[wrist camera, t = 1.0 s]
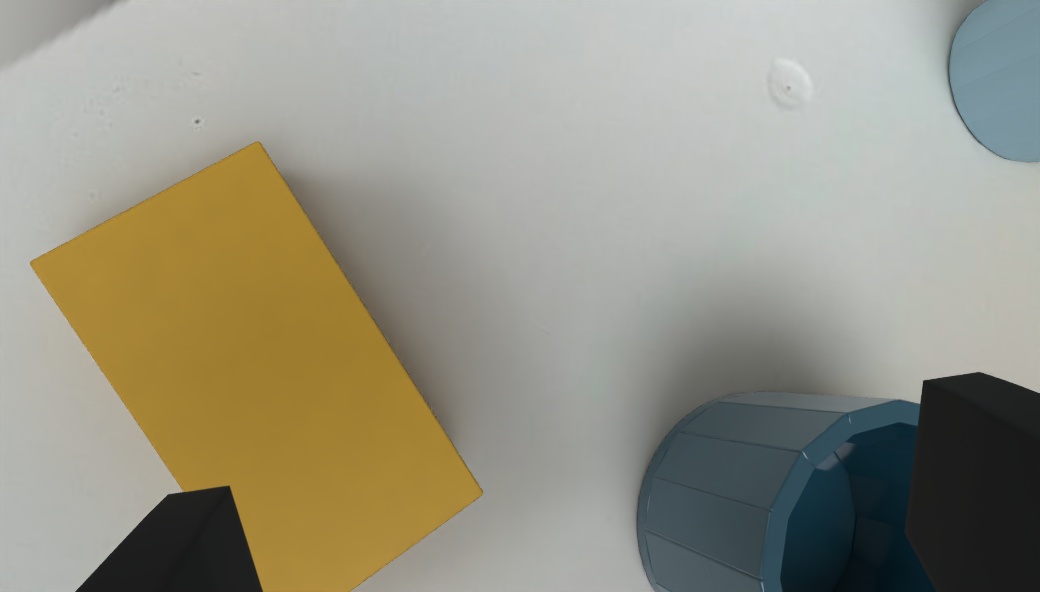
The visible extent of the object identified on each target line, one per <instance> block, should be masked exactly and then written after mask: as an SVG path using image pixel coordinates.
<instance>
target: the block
mask: <svg viewBox="0 0 1040 592" xmlns="http://www.w3.org/2000/svg"><path fill="white" fill-rule="evenodd" d="M30 265H31V267H32V268H33V270H34V271H35V273H36V274H37V276H38V277H39V279H40V280H41V282H42V283H43V285H44V286H45V288H46V289H47V291H48V292H49V294H50V295H51V296H52V298H53V299H54V301H55V302H56V304H57V305H58V307H59V308H60V310H61V311H62V313H63V314H64V316H65V317H66V319H67V320H68V322H69V323H70V324H71V326H72V327H73V329H74V330H75V332H76V333H77V335H78V336H79V338H80V339H81V341H82V342H83V344H84V345H85V347H86V348H87V350H88V351H89V353H90V354H91V355H92V357H93V358H94V360H95V361H96V363H97V364H98V366H99V367H100V369H101V370H102V372H103V373H104V375H105V376H106V378H107V379H108V381H109V382H110V383H111V385H112V386H113V388H114V389H115V391H116V392H117V394H118V395H119V397H120V398H121V400H122V401H123V403H124V404H125V406H126V407H127V409H128V410H129V412H130V413H131V414H132V416H133V417H134V419H135V420H136V422H137V423H138V425H139V426H140V428H141V429H142V431H143V432H144V434H145V435H146V437H147V438H148V440H149V441H150V442H151V444H152V445H153V447H154V448H155V450H156V451H157V453H158V454H159V456H160V457H161V459H162V460H163V462H164V463H165V465H166V466H167V468H168V469H169V471H170V472H171V473H172V475H173V476H174V478H175V479H176V481H177V482H178V484H179V485H180V487H181V488H182V490H183V491H184V492H188V491H195V490H201V489H208V488H215V487H221V486H228V485H230V488H231V491H232V494H233V498H234V501H235V504H236V507H237V510H238V514H239V517H240V520H241V523H242V526H243V529H244V533H245V536H246V539H247V542H248V545H249V548H250V552H251V555H252V558H253V561H254V564H255V568H256V571H257V574H258V577H259V580H260V583H261V587H262V590H263V592H350V591H351V590H353V589H354V588H356V587H357V586H358V585H360V584H361V583H362V582H364V581H365V580H367V579H368V578H369V577H371V576H372V575H373V574H375V573H376V572H378V571H379V570H380V569H382V568H383V567H384V566H386V565H387V564H389V563H390V562H391V561H393V560H394V559H395V558H397V557H398V556H400V555H401V554H402V553H404V552H405V551H406V550H408V549H409V548H410V547H412V546H413V545H415V544H416V543H417V542H419V541H420V540H421V539H423V538H424V537H426V536H427V535H428V534H430V533H431V532H432V531H434V530H435V529H437V528H438V527H439V526H441V525H442V524H443V523H445V522H446V521H448V520H449V519H450V518H452V517H453V516H454V515H456V514H457V513H459V512H460V511H461V510H463V509H464V508H465V507H467V506H468V505H469V504H471V503H472V502H474V501H475V500H476V499H478V498H479V497H480V496H482V495H483V491H482V489H481V488H480V486H479V484H478V483H477V481H476V480H475V478H474V477H473V475H472V473H471V472H470V470H469V469H468V467H467V466H466V464H465V463H464V461H463V459H462V458H461V456H460V455H459V453H458V452H457V450H456V448H455V447H454V445H453V444H452V442H451V441H450V439H449V437H448V436H447V434H446V433H445V431H444V430H443V428H442V426H441V425H440V423H439V422H438V420H437V419H436V417H435V415H434V414H433V412H432V411H431V409H430V408H429V406H428V405H427V403H426V401H425V400H424V398H423V397H422V395H421V394H420V392H419V390H418V389H417V387H416V386H415V384H414V383H413V381H412V379H411V378H410V376H409V375H408V373H407V372H406V370H405V368H404V367H403V365H402V364H401V362H400V361H399V359H398V357H397V356H396V354H395V353H394V351H393V350H392V348H391V347H390V345H389V343H388V342H387V340H386V339H385V337H384V336H383V334H382V332H381V331H380V329H379V328H378V326H377V325H376V323H375V321H374V320H373V318H372V317H371V315H370V314H369V312H368V310H367V309H366V307H365V306H364V304H363V303H362V301H361V300H360V298H359V296H358V295H357V293H356V292H355V290H354V289H353V287H352V285H351V284H350V282H349V281H348V279H347V278H346V276H345V274H344V273H343V271H342V270H341V268H340V267H339V265H338V263H337V262H336V260H335V259H334V257H333V256H332V254H331V252H330V251H329V249H328V248H327V246H326V245H325V243H324V242H323V240H322V238H321V237H320V235H319V234H318V232H317V231H316V229H315V227H314V226H313V224H312V223H311V221H310V220H309V218H308V216H307V215H306V213H305V212H304V210H303V209H302V207H301V205H300V204H299V202H298V201H297V199H296V198H295V196H294V194H293V193H292V191H291V190H290V188H289V187H288V185H287V184H286V182H285V180H284V179H283V177H282V176H281V174H280V173H279V171H278V169H277V168H276V166H275V165H274V163H273V162H272V160H271V158H270V157H269V155H268V154H267V152H266V151H265V149H264V147H263V146H262V144H261V143H260V142H259V141H258V142H255V143H253V144H251V145H249V146H247V147H245V148H243V149H241V150H240V151H238V152H236V153H234V154H232V155H230V156H228V157H226V158H224V159H223V160H221V161H219V162H217V163H215V164H213V165H211V166H209V167H208V168H206V169H204V170H202V171H200V172H198V173H196V174H194V175H192V176H191V177H189V178H187V179H185V180H183V181H181V182H179V183H177V184H175V185H174V186H172V187H170V188H168V189H166V190H164V191H162V192H160V193H159V194H157V195H155V196H153V197H151V198H149V199H147V200H145V201H143V202H142V203H140V204H138V205H136V206H134V207H132V208H130V209H128V210H126V211H125V212H123V213H121V214H119V215H117V216H115V217H113V218H111V219H110V220H108V221H106V222H104V223H102V224H100V225H98V226H96V227H94V228H93V229H91V230H89V231H87V232H85V233H83V234H81V235H79V236H77V237H76V238H74V239H72V240H70V241H68V242H66V243H64V244H62V245H61V246H59V247H57V248H55V249H53V250H51V251H49V252H47V253H45V254H44V255H42V256H40V257H38V258H36V259H34V260H32V261H31V262H30Z"/></svg>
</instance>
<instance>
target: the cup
mask: <svg viewBox="0 0 1040 592" xmlns="http://www.w3.org/2000/svg"><path fill="white" fill-rule="evenodd" d="M949 73H950V82H951V88H952V92H953V96H954V100H955V103H956V106H957V109H958V111H959V113H960V115H961V117H962V118H963V120H964V122H965V124H966V125H967V127H968V128H969V130H970V131H971V132H972V134H973V135H974V136H975V137H976V138H977V140H978V141H980V142H981V143H982V144H983V145H984V146H986V147H987V148H988V149H990V150H991V151H993V152H994V153H996V154H997V155H999V156H1001V157H1003V158H1006V159H1009V160H1015V161H1023V162H1038V161H1040V0H987V1H986V2H984V3H983V4H981V5H980V6H978V7H977V8H975V9H974V10H973V11H972V12H971V13H970V14H969V15H968V17H967V18H966V19H965V21H964V22H963V24H962V25H961V27H960V28H959V30H958V31H957V33H956V36H955V38H954V41H953V45H952V50H951V56H950V66H949Z"/></svg>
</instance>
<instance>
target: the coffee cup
mask: <svg viewBox="0 0 1040 592" xmlns="http://www.w3.org/2000/svg"><path fill="white" fill-rule="evenodd" d="M919 411H920V404H919V403H914V402H910V401H905V400H901V399H886V398H868V397H851V396H834V395H817V394H800V393H783V392H766V391H758V392H754V393H739V394H733V395H727V396H724V397H721V398H718V399H714V400H712V401H710V402H708V403H706V404H704V405H702V406H700V407H698V408H697V409H695V410H694V411H693V412H691V413H690V414H688V415H687V416H686V417H685V418H683V419H682V420H681V421H680V422H679V423H678V424H677V425H676V426H675V427H674V428H673V429H672V430H671V431H670V433H669V434H668V435H667V436H666V437H665V439H664V440H663V442H662V443H661V445H660V446H659V448H658V449H657V451H656V453H655V455H654V457H653V459H652V461H651V463H650V465H649V467H648V470H647V472H646V475H645V478H644V481H643V484H642V489H641V493H640V498H639V505H638V515H637V531H638V541H639V549H640V554H641V557H642V561H643V565H644V569H645V571H646V574H647V576H648V579H649V581H650V584H651V585H652V587H653V589H654V591H655V592H937V591H936V589H935V588H934V586H933V584H932V583H931V581H930V579H929V577H928V575H927V574H926V572H925V570H924V568H923V566H922V564H921V562H920V561H919V559H918V557H917V555H916V553H915V551H914V550H913V548H912V546H911V544H910V542H909V540H908V538H907V537H906V535H905V533H904V532H905V524H906V516H907V508H908V500H909V492H910V484H911V476H912V468H913V460H914V452H915V443H916V435H917V427H918V419H919Z"/></svg>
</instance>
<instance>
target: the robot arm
mask: <svg viewBox="0 0 1040 592" xmlns="http://www.w3.org/2000/svg"><path fill="white" fill-rule="evenodd" d="M904 533H905V535H906V537H907V538H908V540H909V542H910V544H911V546H912V548H913V550H914V551H915V553H916V555H917V557H918V559H919V561H920V562H921V564H922V566H923V568H924V570H925V572H926V574H927V575H928V577H929V579H930V581H931V583H932V584H933V586H934V588H935V589H936V591H937V592H1040V393H1037V392H1035V391H1032V390H1029V389H1027V388H1024V387H1022V386H1019V385H1016V384H1013V383H1011V382H1008V381H1005V380H1002V379H999V378H996V377H993V376H990V375H987V374H984V373H981V372H977V373H970V374H963V375H957V376H950V377H943V378H937V379H930V380H924V381H923V387H922V395H921V403H920V411H919V419H918V427H917V435H916V443H915V452H914V460H913V468H912V476H911V484H910V492H909V500H908V508H907V516H906V524H905V532H904ZM75 592H263V590H262V587H261V583H260V580H259V577H258V574H257V571H256V568H255V564H254V561H253V558H252V555H251V552H250V548H249V545H248V542H247V539H246V536H245V533H244V529H243V526H242V523H241V520H240V517H239V514H238V510H237V507H236V504H235V501H234V498H233V494H232V491H231V488H230V485H228V486H221V487H215V488H208V489H201V490H195V491H188V492H182V493H175V494H168V495H167V496H166V497H165V498H164V499H163V500H162V501H161V502H160V503H159V504H158V505H157V506H156V507H155V508H154V509H153V510H152V511H151V512H150V513H149V514H148V515H147V516H146V517H145V518H144V519H143V520H142V521H141V522H140V523H139V524H138V525H137V526H136V527H135V529H134V530H133V531H132V532H131V533H130V534H129V535H128V536H127V537H126V538H125V539H124V540H123V541H122V542H121V543H120V544H119V546H118V547H117V548H116V549H115V550H114V551H113V552H112V553H111V554H110V555H109V556H108V557H107V558H106V559H105V561H104V562H103V563H102V564H101V565H100V566H99V567H98V568H97V569H96V570H95V571H94V572H93V573H92V574H91V576H90V577H89V578H88V579H87V580H86V581H85V582H84V583H83V584H82V585H81V586H80V587H79V588H78V589H77V590H76V591H75Z"/></svg>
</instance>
